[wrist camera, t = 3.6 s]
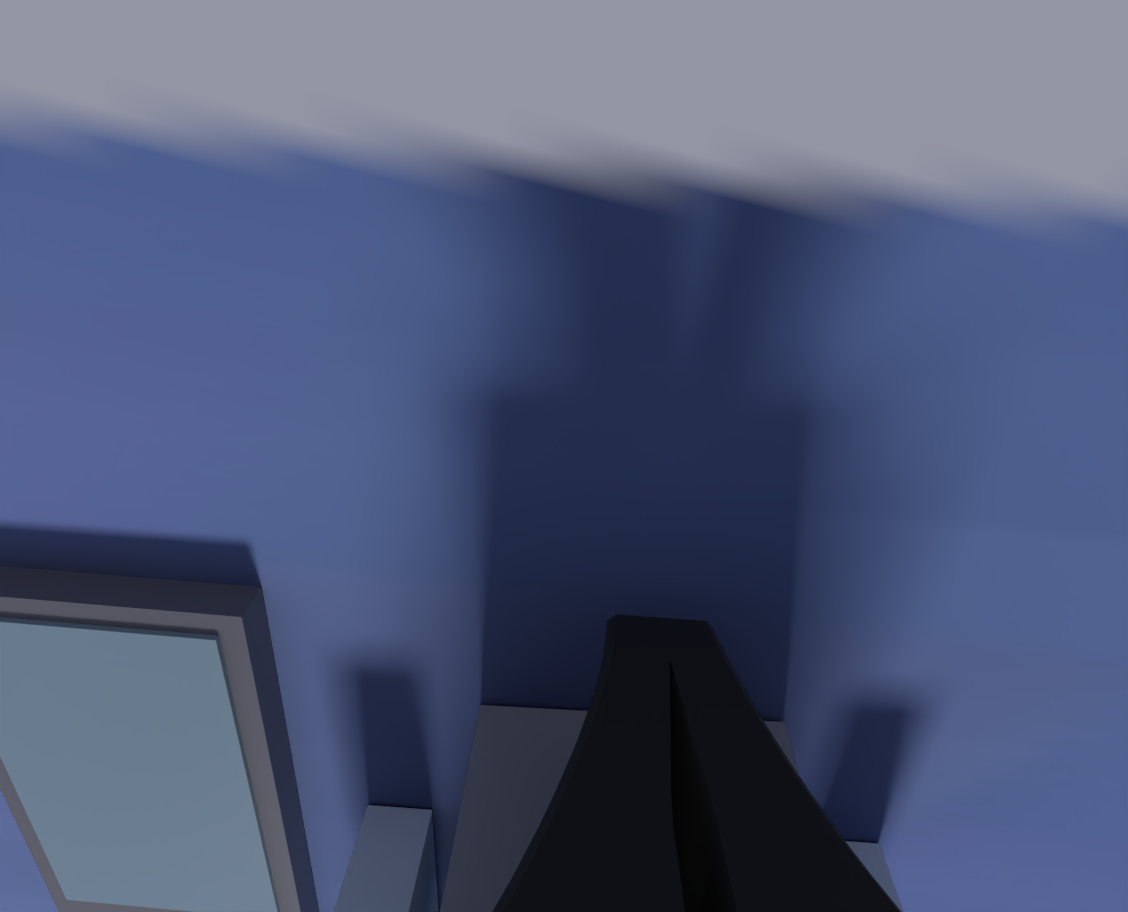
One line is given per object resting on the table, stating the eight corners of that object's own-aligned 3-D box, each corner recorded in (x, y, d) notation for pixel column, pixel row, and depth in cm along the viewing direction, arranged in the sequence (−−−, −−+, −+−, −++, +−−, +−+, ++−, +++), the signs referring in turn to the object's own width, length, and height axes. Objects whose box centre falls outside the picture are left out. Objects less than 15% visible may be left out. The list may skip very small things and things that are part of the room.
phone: (275, 566, 12) (238, 622, 10) (329, 896, 16) (307, 960, 15) (-32, 541, 12) (-101, 592, 11) (104, 875, 16) (66, 937, 15)
